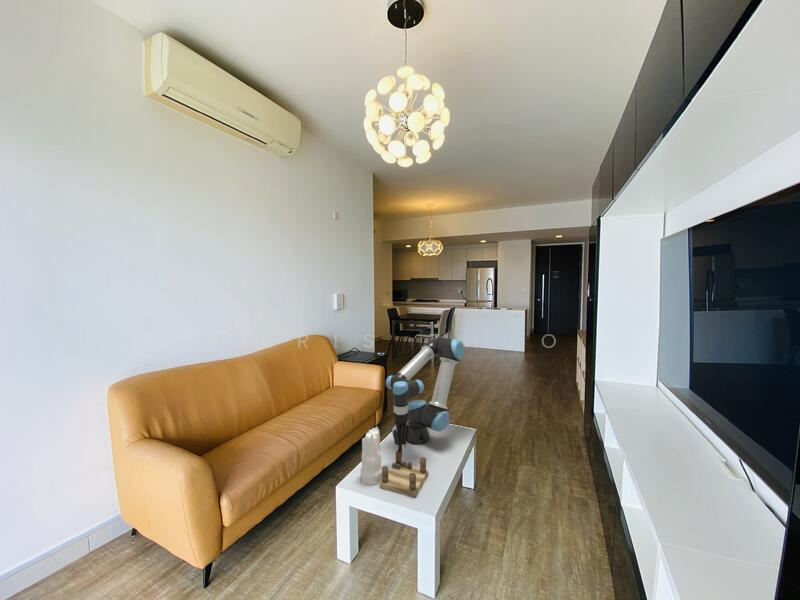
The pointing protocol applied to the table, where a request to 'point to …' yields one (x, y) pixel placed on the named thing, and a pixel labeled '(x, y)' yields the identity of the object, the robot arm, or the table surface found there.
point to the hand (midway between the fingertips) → (401, 456)
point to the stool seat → (404, 478)
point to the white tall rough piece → (371, 458)
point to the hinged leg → (399, 460)
